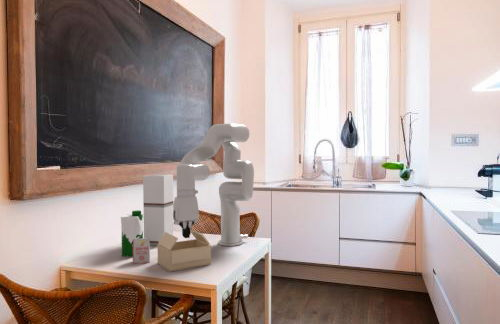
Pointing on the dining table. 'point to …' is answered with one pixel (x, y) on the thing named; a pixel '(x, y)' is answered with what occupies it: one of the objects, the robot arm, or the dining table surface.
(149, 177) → the white banded tower
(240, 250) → the dining table surface
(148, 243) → the white red printed box
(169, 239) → the flap
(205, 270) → the dining table surface
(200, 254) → the carton
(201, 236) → the flap
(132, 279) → the dining table surface
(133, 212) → the milk carton
